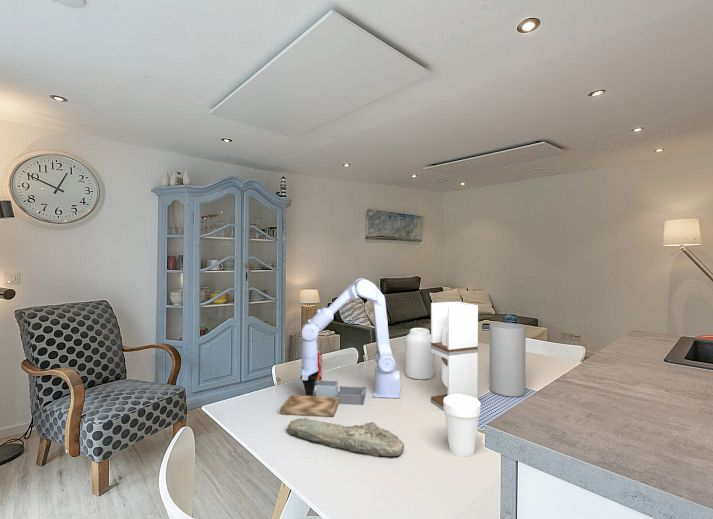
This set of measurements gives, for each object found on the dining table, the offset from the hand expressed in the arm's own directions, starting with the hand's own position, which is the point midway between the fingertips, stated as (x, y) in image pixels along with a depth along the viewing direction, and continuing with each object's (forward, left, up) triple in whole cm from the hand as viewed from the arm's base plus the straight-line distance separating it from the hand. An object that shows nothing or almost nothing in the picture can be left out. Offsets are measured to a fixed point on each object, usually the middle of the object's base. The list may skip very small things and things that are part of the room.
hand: (309, 393), depth 133 cm
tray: (-3, +10, -1) cm, 11 cm away
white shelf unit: (-51, +2, -2) cm, 51 cm away
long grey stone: (-17, +29, -2) cm, 34 cm away
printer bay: (-15, 0, -1) cm, 15 cm away
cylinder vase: (-73, -14, -2) cm, 74 cm away
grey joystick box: (-5, 0, -1) cm, 5 cm away
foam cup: (-49, +31, -2) cm, 58 cm away
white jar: (-41, -29, -2) cm, 51 cm away
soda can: (+3, -18, -2) cm, 19 cm away
